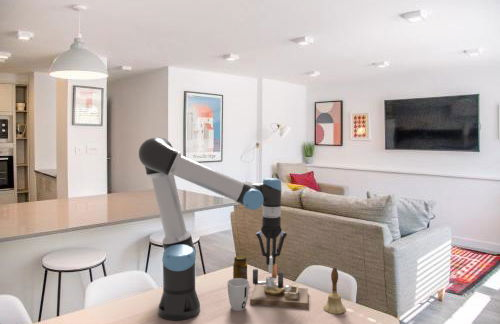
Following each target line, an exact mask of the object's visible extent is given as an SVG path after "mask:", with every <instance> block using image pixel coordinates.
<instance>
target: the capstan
mask: <svg viewBox="0 0 500 324" xmlns="http://www.w3.org/2000/svg"><path fill="white" fill-rule="evenodd" d="M277 271H278V264H277V263H275V265H273V272H272V273H271V276H267V277H265V280H261V281H259V270H258V269H257V268H254V269H253V270H252V284H253V285H254V286H255V285H262V286H264V292H265V293H266V294H269V295H281V294H283V293H284V287H285V286H284V272H277ZM276 279H277V282H275V280H276Z"/></svg>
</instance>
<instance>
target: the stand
mask: <svg viewBox="0 0 500 324" xmlns="http://www.w3.org/2000/svg"><path fill="white" fill-rule="evenodd" d="M264 286H265V285H255V284H254V286H253V291H252V292H251V295H250V299H249V302H250V303H249V304H250V305H257V306H259V305H260V306H272V307H288V308H298V309H299V308H300V309H301V308H303V309H308V306H309V303H308V302H309V295H308V294H309V293H308V290H309V289H308V288H307V287H305V288H304V287H299V284H297V285H291V284H288V285H285V286H290V287H291V289H292V291H291V292H284V293H283V294H281V295H269V294H266V293H265V292H264Z"/></svg>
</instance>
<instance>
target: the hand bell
mask: <svg viewBox="0 0 500 324" xmlns="http://www.w3.org/2000/svg"><path fill="white" fill-rule="evenodd" d="M330 275H331V277H330V278H331V283H332V287H331V288H332V289H331V290H332V291H331V293H329V294H328V298H327V301H326V303H325V304H324V305H323V308H322V309H323V310H324V312H326V313H329V314H333V315H340V314H344V313H345V312H346V306H344V305H343V303H342V298H341V294H339V293H338V287H337V285H338V281H339V272H338V269H337V267H335V266H334V267H332V270H331V274H330Z"/></svg>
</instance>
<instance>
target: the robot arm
mask: <svg viewBox="0 0 500 324" xmlns="http://www.w3.org/2000/svg"><path fill="white" fill-rule="evenodd" d="M138 159H139V161H140V163H141V164H142V165H143V166H144V169H145V172H146V176H148V177H149V178H150V179H151V180H152V181H151V182H152V186H153V189H154V194H155V199H156V203H157V207H158V211H159V216H160V221H161V225H162V229H163V233H164V238H163V239H162V241H161V242H162V247H163V253H162V258H161V259H162V291H163V292H162V294H161V298H160V301H159V304H158V316H159V317H161V318H163V319H165V320H169V321H183V320H184V321H185V320H188V319H191V318H194V317H195V316H197V315H198V314H199V313H200V312H201V302H200V300H199V297H198V293H197V291H196V258H197V257H196V256H197V255H196V254H197V251H196V245H194V242H193V239H192V238H193V237H192V234H191V233H190V232H188V231H187V228H186V223H185V219H184V215H183V210H182V205H181V200H180V196H179V192H178V187H177V184H176V178H175V177H177V178H180V179H182V180H184V181H188V183H191V184H194V185H196V186H198V187H201V188H203V189H206V190H209V191H210V192H213V193H214V194H217V195H220V196H221V197H224V198H226V199H228V200H231V201H233V202H234V203H235V202H236V203H237V204H240V205H242V206H244V207H245V208H247V209H248V210H251V211H255V210H258V209H260V208H261V207H262V217H261V218H262V219H261V221H262V222H261V225H262V226H261V227H260V230H259V231H257V232H255V235H256V237H257V239H258V242H259V247H260V250H261V256H263V257H266V259H265V263H266V265H267V266H268V274H272V272H273V265H275V264H276V258H277V257H279V256H280V255H281V253H282V248H283V244H284V241H285V239H286V237H287V235H288V234H287V233H286V231H283V230H282V225H281V221H282V220H281V219H282V218H281V215H282V180H281V179H279V178H277V177H268V178H267V177H266V178H263V180H262V183H251V182H250V183H249V182H248V183H244V182H242V181H240V180H237V179H235V178H233V177H230V176H228V175H226V174H224V173H221V172H220V171H217V170H214V169H213V168H210V167H209V166H206V165H204V164H201V163H199V162H198V161H196V160H195V161H194V160H193V159H190V158H187V157H186V156H184V155H182V154H181V152H180V150H177V149H175V148H174V147H173V145H172V144H171V142H170V141H168V140H167V139H165V138H164V137H152V138H148V139H146V140H145V141H144V142H142V143H141V144H140V146H139V149H138ZM279 235H280V238H279V241H278V244H277V238H278V237H279ZM263 236H264V237H265V239H266V240H265V241H266V242H265V244H266V245H265V246H264V243H263V238H262V237H263Z"/></svg>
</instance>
